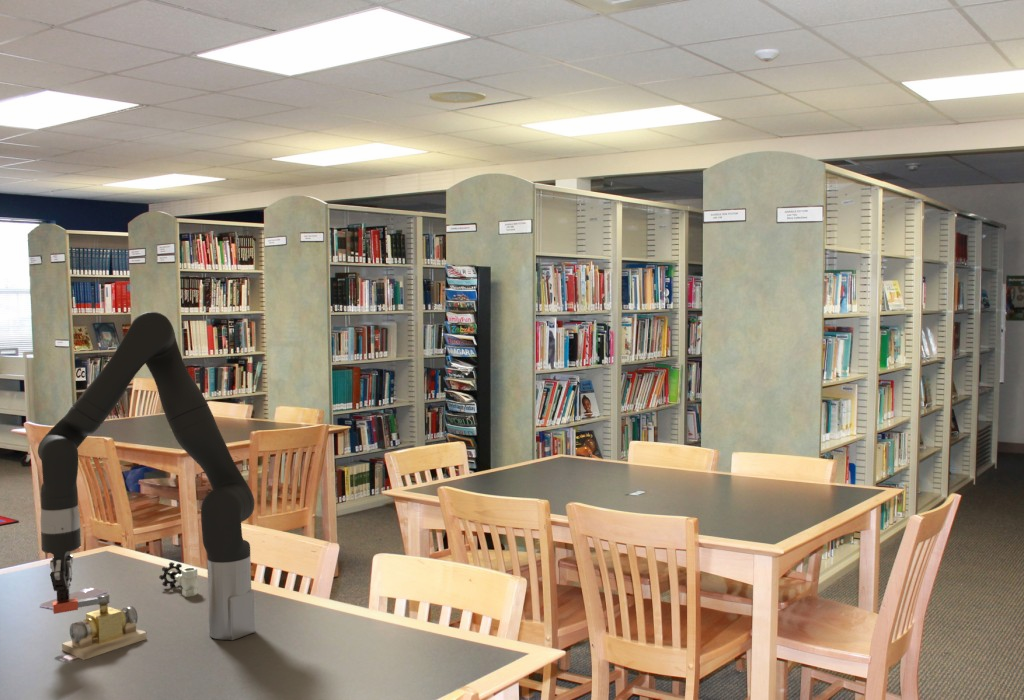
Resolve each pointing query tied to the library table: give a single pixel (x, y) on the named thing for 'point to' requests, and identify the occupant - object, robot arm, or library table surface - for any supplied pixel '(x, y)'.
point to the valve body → (103, 624)
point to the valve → (182, 579)
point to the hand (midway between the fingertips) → (63, 606)
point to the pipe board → (91, 649)
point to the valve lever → (79, 603)
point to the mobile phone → (77, 596)
